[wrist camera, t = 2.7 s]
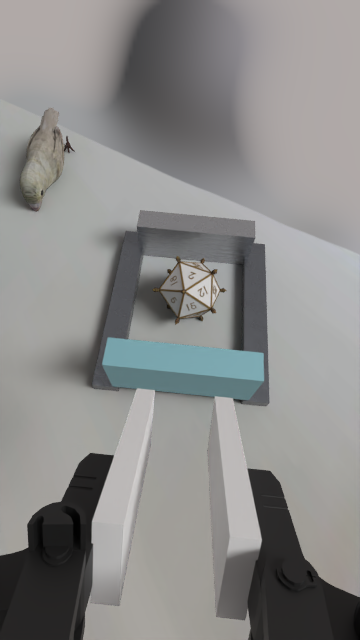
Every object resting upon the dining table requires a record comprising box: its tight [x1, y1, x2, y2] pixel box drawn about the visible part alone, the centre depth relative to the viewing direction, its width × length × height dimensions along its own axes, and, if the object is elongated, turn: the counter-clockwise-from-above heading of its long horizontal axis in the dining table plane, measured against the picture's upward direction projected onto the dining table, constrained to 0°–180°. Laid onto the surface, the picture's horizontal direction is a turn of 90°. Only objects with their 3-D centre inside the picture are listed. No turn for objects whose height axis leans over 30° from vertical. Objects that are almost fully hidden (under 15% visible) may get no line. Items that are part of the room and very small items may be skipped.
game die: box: [153, 256, 226, 324], centre depth 44 cm, size 9×8×10 cm
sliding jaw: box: [102, 337, 264, 400], centre depth 37 cm, size 16×3×7 cm, turn 85°
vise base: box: [92, 210, 269, 406], centre depth 44 cm, size 21×24×6 cm
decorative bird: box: [20, 108, 75, 211], centre depth 55 cm, size 5×16×7 cm, turn 174°
